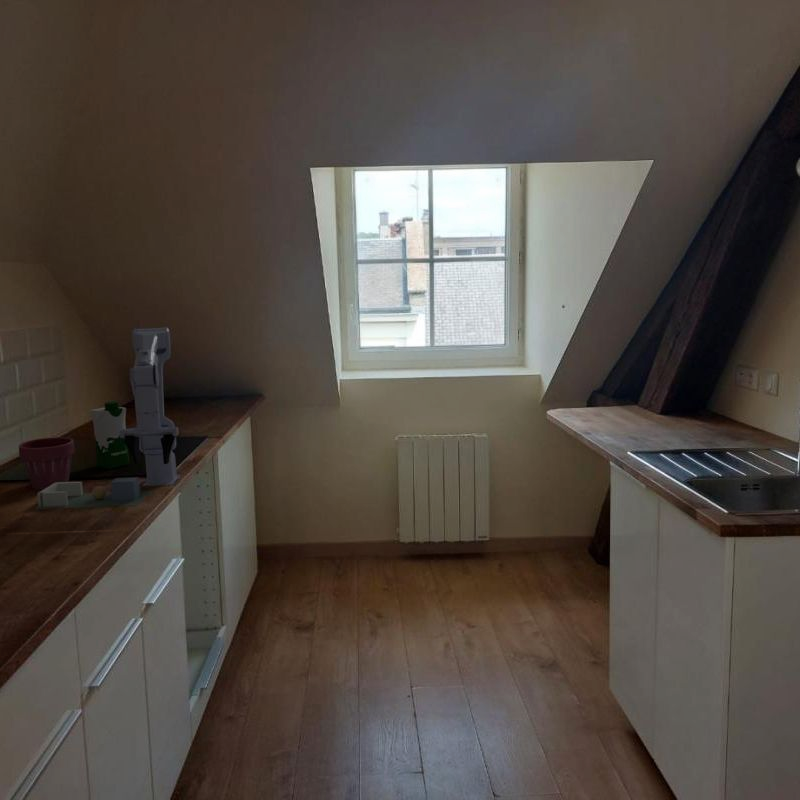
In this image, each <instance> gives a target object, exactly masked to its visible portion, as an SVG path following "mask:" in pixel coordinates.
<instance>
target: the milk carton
mask: <svg viewBox="0 0 800 800" xmlns="http://www.w3.org/2000/svg"><path fill="white" fill-rule="evenodd" d="M103 405H104V407H100V408H94V409H90V410H89V412H90V416H91V420H92V423H93V430H94V431H93V433H94V440H95V441H94V442H95V450H96V451H95V452H96V456H95V457H96V467H97V468H103V469H108V470H112V469H115V468H120V467H124V466H129V465H131V464H130V456H129V449H128V447H127V446H126V445H125V443H124V440H125V438H120V430H122V429H127V428H126V427H127V425H126V417H127V415H126V413H127V408H126V407H123V406H119V401H108V402H104V404H103Z"/></svg>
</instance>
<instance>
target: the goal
mask: <svg viewBox="0 0 800 800" xmlns="http://www.w3.org/2000/svg"><path fill="white" fill-rule="evenodd" d="M83 493H84V491H83V481H68V482H55V483H54V484H52V485H50V486H49V487H47V488H45V489H44V490H40V491H38V492H37V503H38V506H39V507H45V506H67V505H68V497H67V496H81V495H83Z"/></svg>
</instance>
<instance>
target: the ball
mask: <svg viewBox="0 0 800 800" xmlns="http://www.w3.org/2000/svg"><path fill="white" fill-rule="evenodd" d="M106 489H107V488H106V487H104V486H102V485H97V486H94V487H93V489H92V490H91V493H92V496H93V497H94V498H95V499H102V498H104V497H105V495H106V493H107V490H106Z"/></svg>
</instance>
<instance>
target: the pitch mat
mask: <svg viewBox="0 0 800 800" xmlns="http://www.w3.org/2000/svg"><path fill="white" fill-rule="evenodd" d="M152 493H154V492H153V490H150V491H140V496H139V497H138V498H137V499H136V500H124V501H112V496H111V492H106V495H105V497H104V498H102V499H95V498H94V497H93V496H92V492H91V493H90V492H89V493H87V492H86V493H84V492H83V495H81V496H67V497H68V505H67V506H45V507H39V505H37V506H36V507H34V508H33V510H45V509H46V510H47V509H48V510H49V509H77V508H78V509H80V508H81V509H83V508H107V507H108V508H109V507H137V506H138V505H139V504H140V503H141V502H143V501H144V500H146V498H147V497H149V496H150V495H151V494H152Z"/></svg>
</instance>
